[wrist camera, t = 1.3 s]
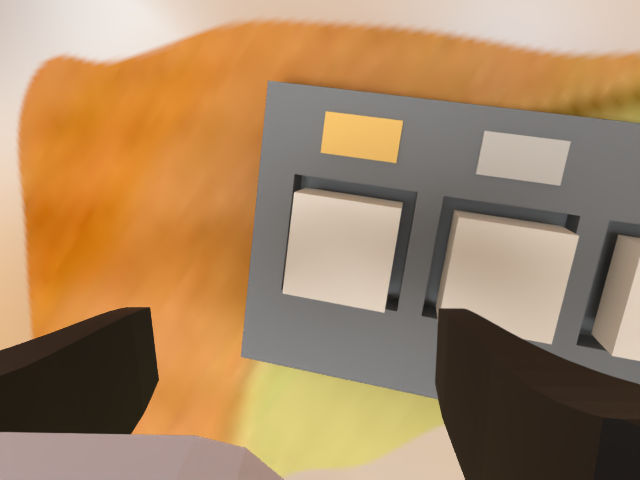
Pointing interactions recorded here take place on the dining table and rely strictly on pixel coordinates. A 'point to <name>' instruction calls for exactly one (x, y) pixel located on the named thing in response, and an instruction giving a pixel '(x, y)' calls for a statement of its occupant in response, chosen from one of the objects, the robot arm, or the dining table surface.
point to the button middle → (508, 272)
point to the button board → (431, 220)
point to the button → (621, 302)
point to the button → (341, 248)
